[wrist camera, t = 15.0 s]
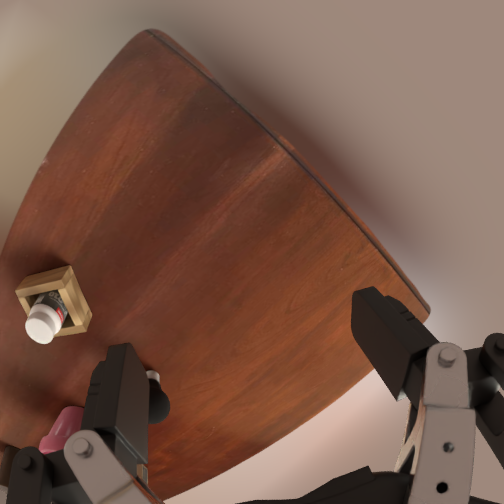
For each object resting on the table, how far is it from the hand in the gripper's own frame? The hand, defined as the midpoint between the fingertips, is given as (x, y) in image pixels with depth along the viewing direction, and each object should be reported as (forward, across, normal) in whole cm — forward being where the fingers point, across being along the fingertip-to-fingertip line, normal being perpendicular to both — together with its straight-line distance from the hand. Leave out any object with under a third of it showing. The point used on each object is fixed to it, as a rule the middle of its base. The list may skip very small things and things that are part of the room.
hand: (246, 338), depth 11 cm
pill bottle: (+28, +24, +11) cm, 39 cm away
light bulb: (+28, +15, +28) cm, 43 cm away
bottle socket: (+28, +24, +11) cm, 39 cm away
